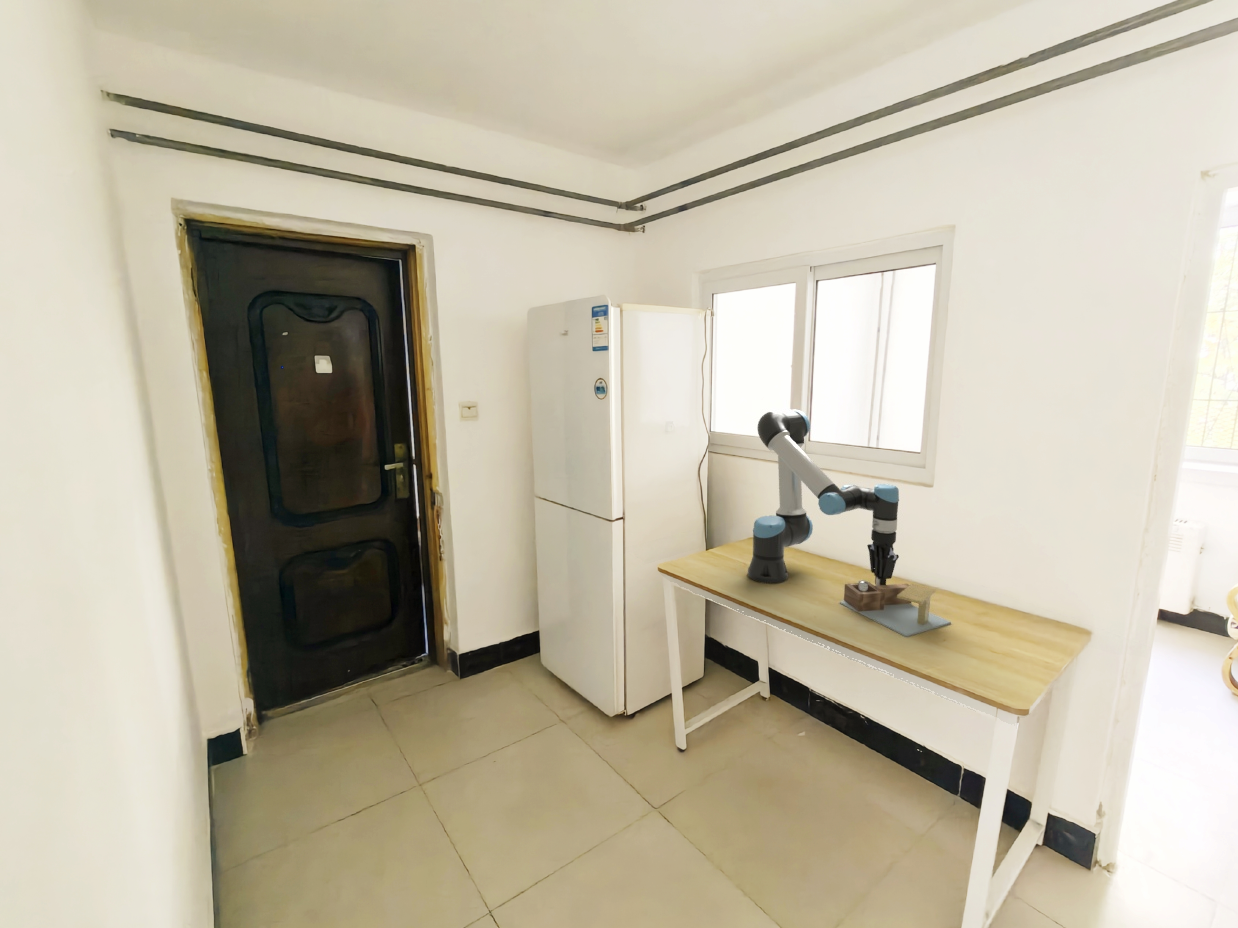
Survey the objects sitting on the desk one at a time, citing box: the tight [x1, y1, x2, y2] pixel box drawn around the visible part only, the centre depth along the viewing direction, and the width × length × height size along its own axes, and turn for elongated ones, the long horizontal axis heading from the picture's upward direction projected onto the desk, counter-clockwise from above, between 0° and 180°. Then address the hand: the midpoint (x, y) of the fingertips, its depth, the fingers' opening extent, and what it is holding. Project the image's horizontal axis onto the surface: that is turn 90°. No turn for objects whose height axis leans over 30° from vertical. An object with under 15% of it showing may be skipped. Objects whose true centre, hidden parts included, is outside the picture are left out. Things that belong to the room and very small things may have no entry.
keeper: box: [897, 583, 936, 625], centre depth 169 cm, size 7×13×10 cm, turn 133°
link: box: [843, 581, 912, 613], centre depth 181 cm, size 21×9×6 cm, turn 97°
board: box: [839, 600, 952, 638], centre depth 176 cm, size 26×20×1 cm
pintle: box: [858, 579, 869, 592], centre depth 181 cm, size 3×3×8 cm
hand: (879, 594), depth 185 cm, fingers closed
